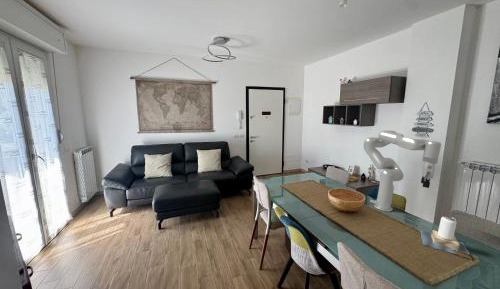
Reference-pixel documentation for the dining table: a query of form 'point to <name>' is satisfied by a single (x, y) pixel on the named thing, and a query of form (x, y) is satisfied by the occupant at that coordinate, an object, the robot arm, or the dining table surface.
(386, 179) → the robot arm
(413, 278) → the dining table surface
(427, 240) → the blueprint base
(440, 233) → the can
